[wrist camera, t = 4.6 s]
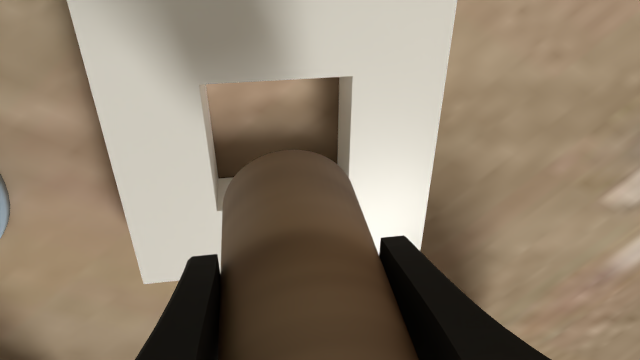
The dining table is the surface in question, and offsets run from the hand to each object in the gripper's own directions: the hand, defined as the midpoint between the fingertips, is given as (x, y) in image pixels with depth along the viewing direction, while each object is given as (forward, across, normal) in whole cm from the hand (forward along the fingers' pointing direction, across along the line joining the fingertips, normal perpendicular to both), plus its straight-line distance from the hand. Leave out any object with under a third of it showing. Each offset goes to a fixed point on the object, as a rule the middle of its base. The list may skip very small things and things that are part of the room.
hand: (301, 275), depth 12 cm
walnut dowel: (+3, 0, 0) cm, 3 cm away
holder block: (+9, 0, 0) cm, 9 cm away
